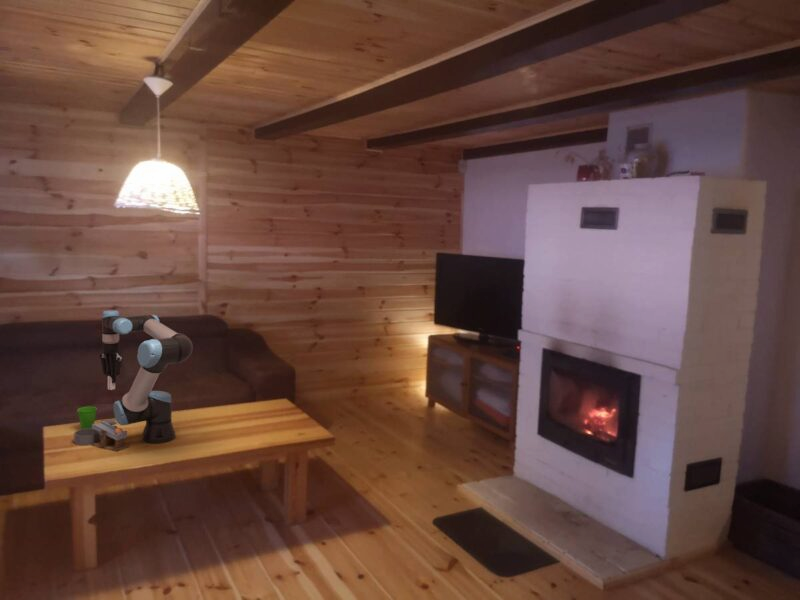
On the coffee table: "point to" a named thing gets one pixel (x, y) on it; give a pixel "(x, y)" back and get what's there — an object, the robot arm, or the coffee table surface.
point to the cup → (87, 416)
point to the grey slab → (109, 429)
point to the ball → (118, 430)
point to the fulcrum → (110, 442)
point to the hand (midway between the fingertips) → (111, 388)
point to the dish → (86, 436)
